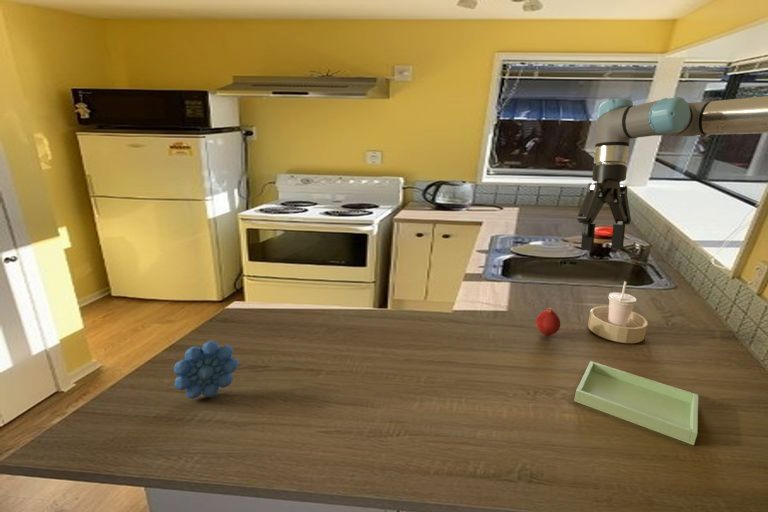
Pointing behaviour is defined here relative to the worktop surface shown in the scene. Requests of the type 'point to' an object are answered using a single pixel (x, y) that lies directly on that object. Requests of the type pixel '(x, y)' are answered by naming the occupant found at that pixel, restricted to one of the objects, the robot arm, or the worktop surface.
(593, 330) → the bowl
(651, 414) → the tray
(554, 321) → the onion
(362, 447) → the worktop surface
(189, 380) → the blue flower
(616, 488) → the worktop surface
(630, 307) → the smoothie
